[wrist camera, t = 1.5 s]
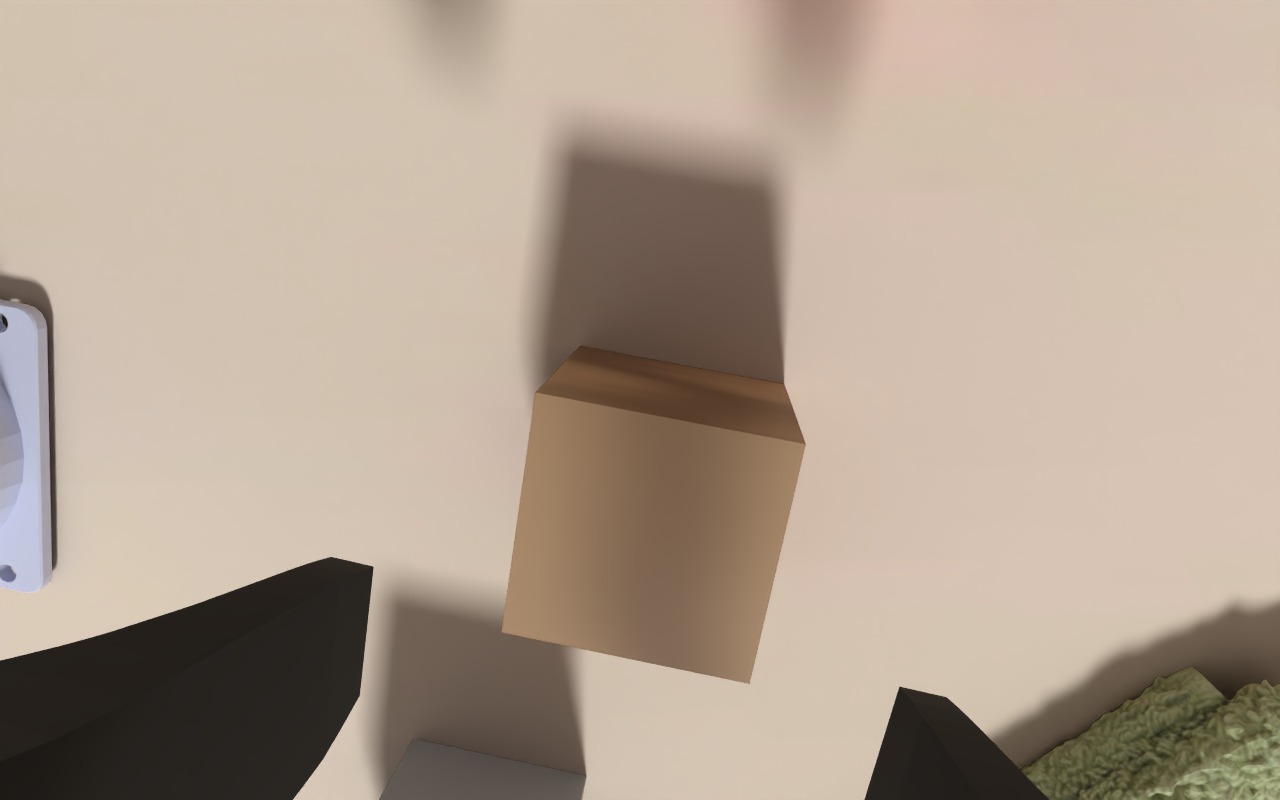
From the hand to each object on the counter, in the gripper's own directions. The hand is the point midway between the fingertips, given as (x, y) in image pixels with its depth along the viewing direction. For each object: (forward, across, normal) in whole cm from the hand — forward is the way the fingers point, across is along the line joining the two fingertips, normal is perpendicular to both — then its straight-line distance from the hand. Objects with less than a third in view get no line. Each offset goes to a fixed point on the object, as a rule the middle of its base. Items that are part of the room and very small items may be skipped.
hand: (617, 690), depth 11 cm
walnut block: (+10, 0, 0) cm, 10 cm away
